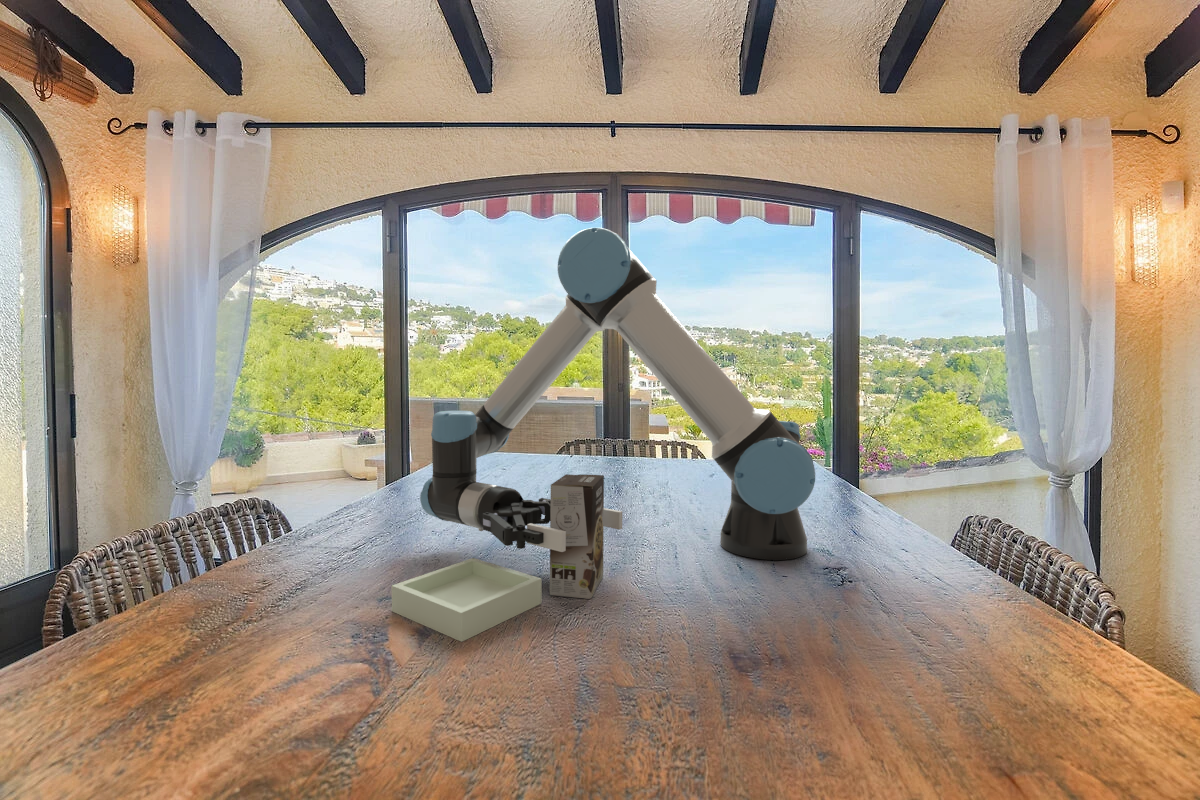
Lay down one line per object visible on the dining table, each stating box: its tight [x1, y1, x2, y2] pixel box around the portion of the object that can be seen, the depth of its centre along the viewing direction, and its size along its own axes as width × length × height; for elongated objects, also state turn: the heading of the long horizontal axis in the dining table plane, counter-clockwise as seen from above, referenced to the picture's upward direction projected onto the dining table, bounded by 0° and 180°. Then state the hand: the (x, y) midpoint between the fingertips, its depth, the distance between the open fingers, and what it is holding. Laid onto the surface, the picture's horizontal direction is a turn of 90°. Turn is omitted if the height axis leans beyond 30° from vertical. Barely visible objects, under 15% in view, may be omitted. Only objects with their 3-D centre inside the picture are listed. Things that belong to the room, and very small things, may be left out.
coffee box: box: [549, 474, 605, 600], centre depth 86 cm, size 9×6×16 cm
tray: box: [391, 557, 543, 643], centre depth 78 cm, size 14×14×4 cm
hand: (594, 530), depth 84 cm, fingers open, 13 cm apart
